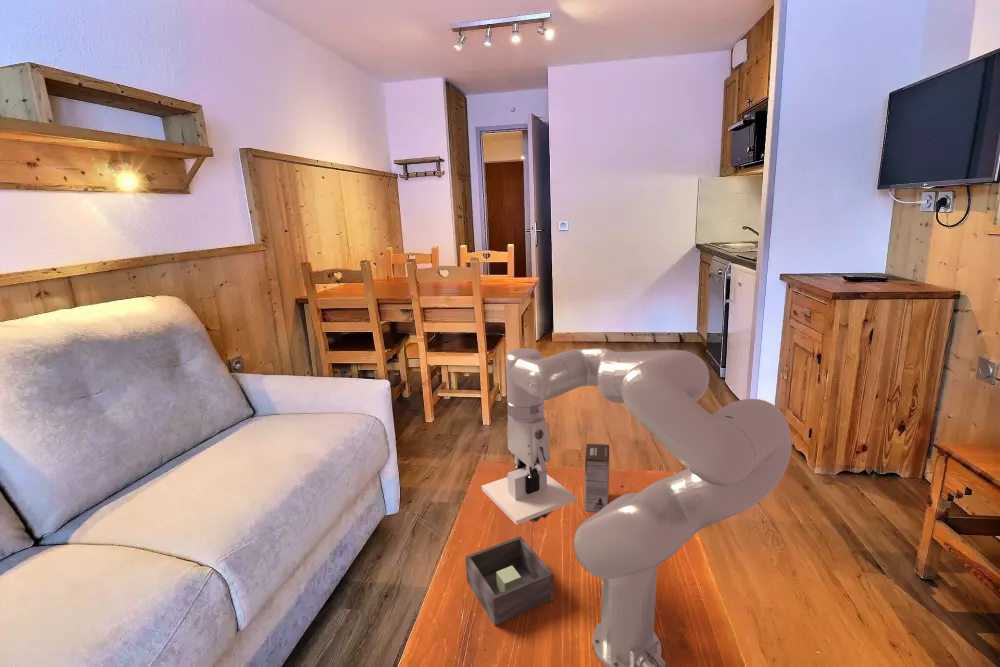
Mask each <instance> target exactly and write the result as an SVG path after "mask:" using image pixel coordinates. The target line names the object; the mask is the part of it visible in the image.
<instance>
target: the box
mask: <svg viewBox="0 0 1000 667" xmlns="http://www.w3.org/2000/svg"><path fill="white" fill-rule="evenodd" d="M509 566H513V567H514V568H515V570H516V571H517V572H518V574H519V575H520V576H521V584H520V585H518V586H516V587H513V588H511V589H508V590H506V591H504V592H501V593H500V591H499V590H498V588H497V581H496V572H497V571H499V570H502V569H504V568H507V567H509ZM465 571H466V581H467V583H468V585H469V587H470V588H471V589H472V592H473V593H474V595H475V597H476V598H477V599H478V601H479V603H480V605H481V607H482V608H483V610H484V611H485V613H486V614H487V615H488V618H489V619H490V620H491V621H490V622H491V623H492V624H493V626H498V625H500V624H502V623H504V622H507V621H509V620H511V619H513V618H516V617H518V616H520V615H522V614H525V613H527V612H529V611H531V610H533V609H536V608H538V607H540V606H542V605H544V604H547V603H549V602H552V601H554V597H555V596H554V572H552V570H551V569H550V568H549V567H548V566H547V565H546V564H545V562H544V561H543V560H542V559H541V558H540V556H538V554H537V553H536V552H535V551H534V550H533V549H532V548H531V546H530V545H529V544H528V543H527V541H525V539H524V538H523V537H522V536H521V535H519V536H516V537H514V538H511V539H509V540H506V541H503V542H500V543H498V544H496V545H493V546H490V547H487V548H484V549H481V550H479V551H476V552H474V553H471V554H469V555H466V556H465Z"/></svg>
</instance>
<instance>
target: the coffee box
mask: <svg viewBox="0 0 1000 667" xmlns="http://www.w3.org/2000/svg"><path fill="white" fill-rule="evenodd" d="M584 457H585V460H584V462H585V463H584V464H585V466H584V474H585V476H584V479H585V480H584V482H585V483H584V487H585V488H584V511H585V512H591V513H592V512H593V513H594V512H595V513H597V512H599V511H600V510H601V509H602V508H604V507H605V506H606V505H608V504H609V492H610V491H609V489H610V486H609V485H610V482H609V481H610V445H609V444H602V443H601V444H600V443H586V445H585V456H584Z"/></svg>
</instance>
